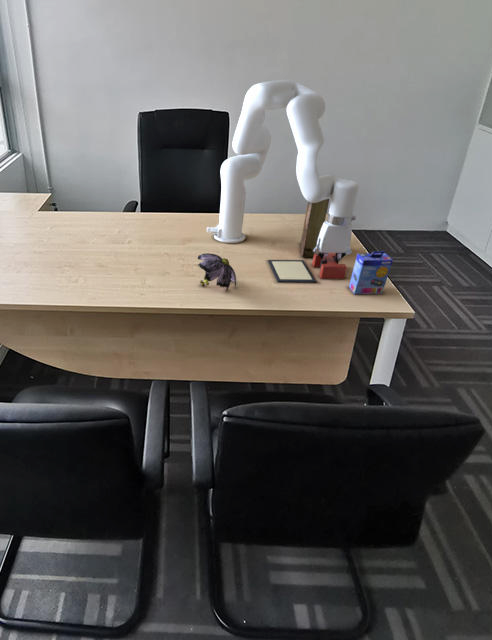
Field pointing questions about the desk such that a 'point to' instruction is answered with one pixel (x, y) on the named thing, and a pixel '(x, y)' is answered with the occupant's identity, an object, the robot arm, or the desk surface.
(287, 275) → the desk mat
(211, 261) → the decorative flower
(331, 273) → the letter I
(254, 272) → the desk surface
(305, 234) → the book
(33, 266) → the desk surface
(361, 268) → the ink cartridge box
